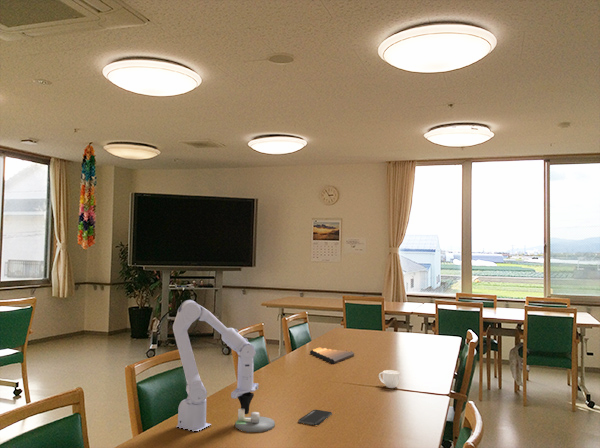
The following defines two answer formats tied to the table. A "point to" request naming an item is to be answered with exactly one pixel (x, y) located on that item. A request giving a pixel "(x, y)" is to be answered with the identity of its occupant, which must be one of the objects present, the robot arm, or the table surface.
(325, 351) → the pan flute
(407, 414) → the table surface
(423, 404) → the table surface
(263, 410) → the table surface
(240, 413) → the tuning lever
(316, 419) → the phone
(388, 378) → the cup
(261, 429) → the dial plate
